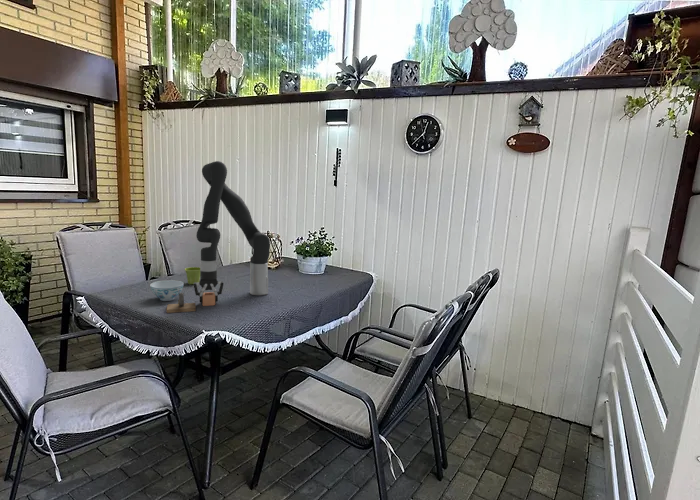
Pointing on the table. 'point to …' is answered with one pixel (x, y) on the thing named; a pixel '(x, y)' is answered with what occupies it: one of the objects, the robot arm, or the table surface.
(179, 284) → the chinaware
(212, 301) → the orange hollow square block
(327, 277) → the table surface
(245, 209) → the robot arm
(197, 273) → the plant pot
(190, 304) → the shaft block
